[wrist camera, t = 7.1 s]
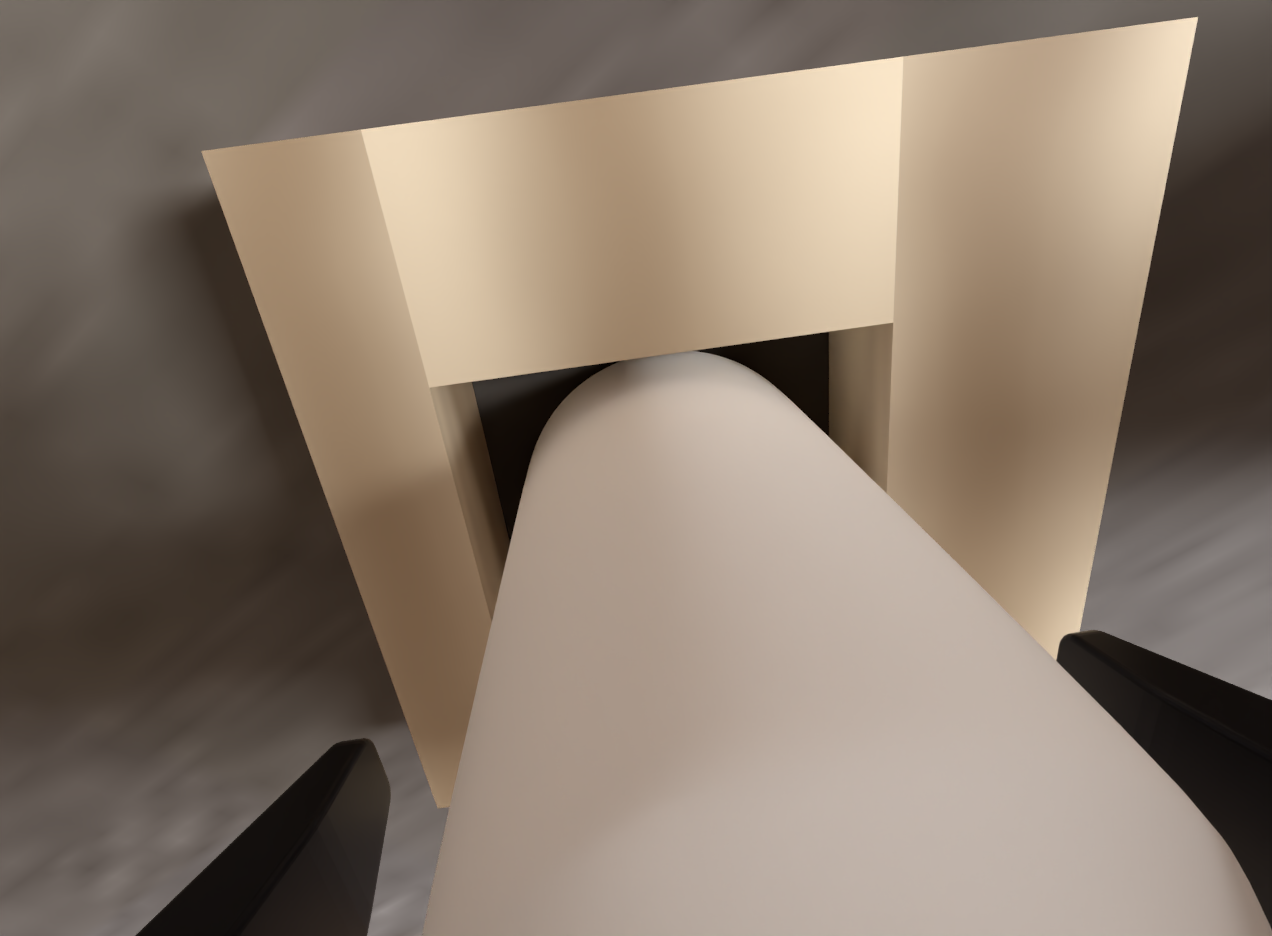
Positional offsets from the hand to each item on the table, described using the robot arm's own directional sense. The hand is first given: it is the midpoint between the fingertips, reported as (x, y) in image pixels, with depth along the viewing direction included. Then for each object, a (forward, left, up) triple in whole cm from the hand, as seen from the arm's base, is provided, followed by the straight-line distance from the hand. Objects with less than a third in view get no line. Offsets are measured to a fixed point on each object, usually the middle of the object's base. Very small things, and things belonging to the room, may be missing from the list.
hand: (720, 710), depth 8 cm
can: (0, 0, -7) cm, 7 cm away
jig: (-1, -1, -7) cm, 7 cm away
